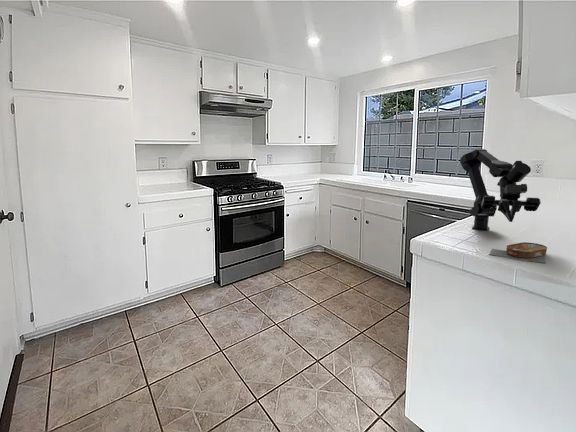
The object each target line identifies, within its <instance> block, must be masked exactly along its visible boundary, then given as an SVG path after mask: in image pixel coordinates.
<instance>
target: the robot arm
mask: <svg viewBox="0 0 576 432" xmlns="http://www.w3.org/2000/svg"><path fill="white" fill-rule="evenodd" d="M459 163H460V165H461V168H462V169H463V170H465V172H467V173H468V177H469V180H470V183H471V186H472V190H473V193H474V196H475V199H474V201H473V207H472V208H470V210H469V215H470V216H472V217H474V221H473V226H472V227H471V229H472V230H477V231H478V230H481V231H489V229H490V226H489V219H490V217H492V218H493V217H494V216H495V215H496V213H497V212H496V211H498V212H501V214H503V216H504V217H505V218H506V219H507V221H508V222H510V223H513V221H514V218H515V215H516V213H518V212H520V211H521V209H522V207H523V210H525V211H526V212H536V211H538V208H539V207H540V205H541V203H542V202H541V199H540V198H539V197H526V199H525V200H522V199H521V194H525V193H527V192H528V185H527V183H521V184H517V183H520V182H522V180H524V179H525V178H526V177H527V176H528V175H529V174H530V173H531V172H532V169H531V167H530V166H529V165H528V164H527V163H524V162H523V161H522V160H515V161H514V163H513V164H512V163H510V162H507V161H504V160H499V159H498V158H497V157H495V156H494V155H493V154H491V153H490V152H488V150H487V149H485V148H477V149H474V150H472V151H471V152H470V151H469V152H467V153H464V154H463V155H462V156H461V157H460V158H459ZM482 164H483V165H485V166H486V167H487V168H488V169H489V171H488V172H489V173H490V175H491V176H492V177H493V178H500V179H499V181H498V182H497V184H496V186H498V187H499V193H500V194H499V197H500V199H496V196H495V195H489V193H488V192H487V188H486V185H485V183H484V179H483V176H482V173H481V170H480V167H481V165H482ZM519 199H521V200H519Z"/></svg>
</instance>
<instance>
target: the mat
mask: <svg viewBox="0 0 576 432" xmlns="http://www.w3.org/2000/svg"><path fill="white" fill-rule="evenodd" d="M489 256H495V257H501V258H507V259H513V260H521V261H527V262H534V263H539V264H546V256H545V255H543V256H538V257H534V258H519V257H516V256H512V255H508V254H507V253H506V250H503V249H496V248H491V250H490V252H489Z"/></svg>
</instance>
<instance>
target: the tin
mask: <svg viewBox="0 0 576 432" xmlns="http://www.w3.org/2000/svg"><path fill="white" fill-rule="evenodd" d="M547 250H548V247H547V246H546V245H544V244H541V243H535V242H523V241H522V242H519V243H518V242H517V243H512V244H507V245H506V250H505V251H506V253H507V254H508V255H512V256H516V257H519V258H534V257H538V256H545V255H546V254H547Z"/></svg>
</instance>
